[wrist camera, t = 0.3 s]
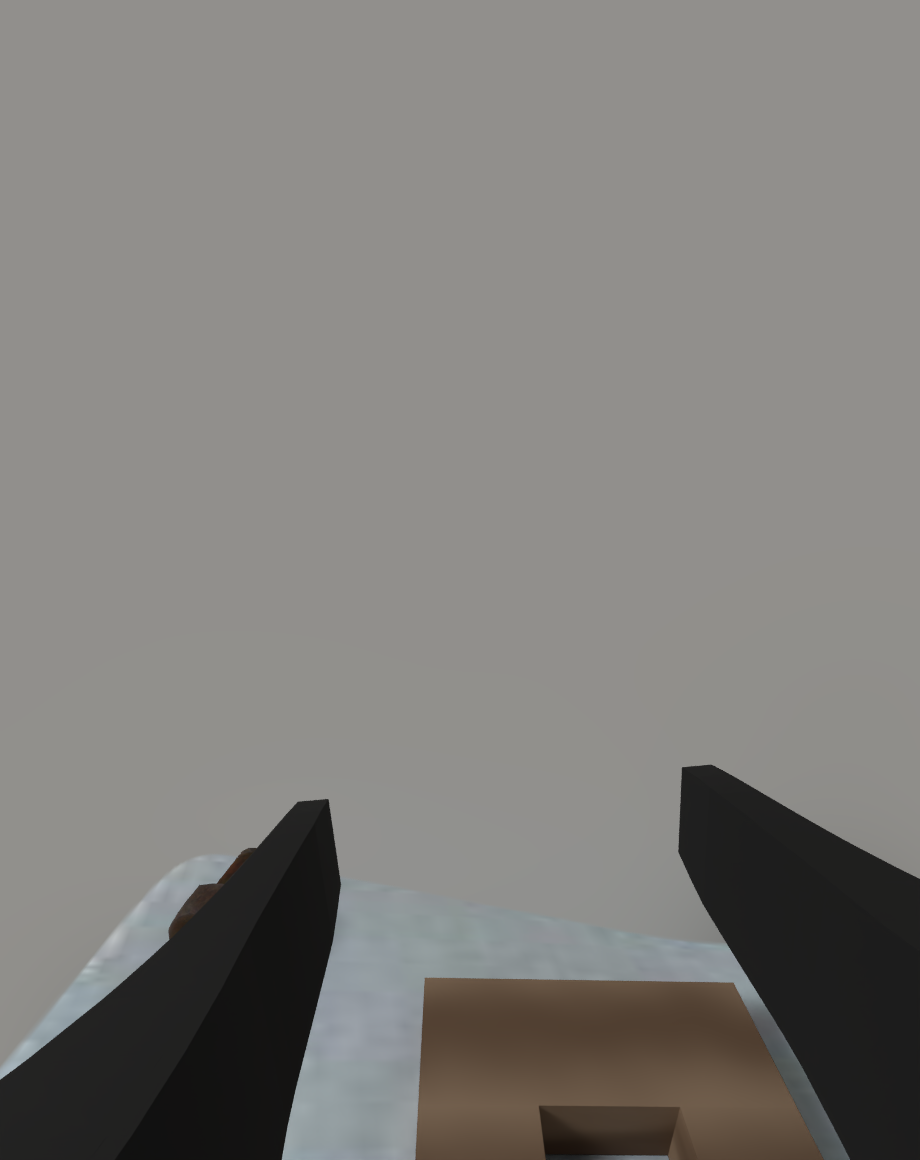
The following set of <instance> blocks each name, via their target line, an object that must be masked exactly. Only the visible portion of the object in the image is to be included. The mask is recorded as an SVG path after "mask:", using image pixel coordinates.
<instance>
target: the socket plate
mask: <svg viewBox="0 0 920 1160" xmlns="http://www.w3.org/2000/svg"><path fill="white" fill-rule="evenodd" d="M545 1154H568V1155H668V1157H669V1160H824V1159H823V1157H822V1155H821V1153H820V1151H819V1149H818V1148H817V1146H816V1144H815V1142H814V1140H813V1138H812V1136H811V1134H810V1132H809V1130H808V1128H807V1126H806V1124H805V1122H804V1120H803V1118H802V1116H801V1114H800V1112H799V1110H798V1108H797V1106H796V1104H795V1102H794V1101H793V1099H792V1097H791V1095H790V1093H789V1091H788V1089H787V1087H786V1085H785V1083H784V1081H783V1079H782V1077H781V1075H780V1073H779V1071H778V1069H777V1067H776V1065H775V1063H774V1061H773V1059H772V1057H771V1055H770V1054H769V1052H768V1050H767V1048H766V1046H765V1044H764V1042H763V1040H762V1038H761V1036H760V1034H759V1032H758V1030H757V1028H756V1026H755V1024H754V1022H753V1020H752V1018H751V1016H750V1014H749V1012H748V1010H747V1008H746V1007H745V1005H744V1003H743V1001H742V999H741V997H740V995H739V993H738V991H737V989H736V987H735V985H734V983H718V982H656V981H594V980H532V979H470V978H425V985H424V1004H423V1024H422V1043H421V1063H420V1082H419V1102H418V1121H417V1141H416V1160H546V1159H545Z"/></svg>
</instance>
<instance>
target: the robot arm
mask: <svg viewBox="0 0 920 1160" xmlns="http://www.w3.org/2000/svg"><path fill="white" fill-rule="evenodd" d="M678 852H679V854H680V857H681V859H682V861H683V863H684V865H685V868H686V870H687V872H688V874H689V876H690V878H691V881H692V883H693V885H694V887H695V889H696V891H697V893H698V895H699V897H700V899H701V901H702V903H703V905H704V907H705V908H706V910H707V912H708V913H709V915H710V917H711V918H712V920H713V921H714V923H715V925H716V926H717V928H718V930H719V932H720V933H721V935H722V936H723V938H724V940H725V941H726V943H727V945H728V946H729V948H730V949H731V951H732V953H733V954H734V956H735V958H736V959H737V961H738V962H739V964H740V966H741V967H742V969H743V970H744V972H745V974H746V975H747V977H748V978H749V980H750V982H751V983H752V985H753V986H754V988H755V990H756V991H757V993H758V994H759V996H760V998H761V999H762V1001H763V1003H764V1004H765V1006H766V1007H767V1009H768V1011H769V1012H770V1014H771V1015H772V1017H773V1019H774V1020H775V1022H776V1023H777V1025H778V1027H779V1028H780V1030H781V1031H782V1033H783V1035H784V1036H785V1038H786V1040H787V1042H788V1043H789V1045H790V1047H791V1049H792V1050H793V1052H794V1054H795V1055H796V1057H797V1059H798V1061H799V1062H800V1064H801V1066H802V1068H803V1069H804V1071H805V1073H806V1075H807V1077H808V1079H809V1081H810V1083H811V1085H812V1087H813V1088H814V1090H815V1092H816V1094H817V1096H818V1098H819V1100H820V1102H821V1104H822V1106H823V1108H824V1110H825V1111H826V1113H827V1115H828V1117H829V1119H830V1121H831V1123H832V1125H833V1127H834V1129H835V1131H836V1132H837V1134H838V1136H839V1138H840V1140H841V1142H842V1144H843V1146H844V1148H845V1150H846V1152H847V1154H848V1156H849V1158H850V1160H920V879H919V878H917V877H915V876H913V875H910V874H909V873H906V872H904V871H902V870H900V869H898V868H896V867H894V866H892V865H891V864H888V863H887V862H885V861H883V860H881V859H879V858H877V857H875V856H873V855H871V854H870V853H868V852H866V851H864V850H862V849H860V848H858V847H856V846H854V845H852V844H850V843H849V842H847V841H845V840H843V839H841V838H840V837H838V836H836V835H834V834H832V833H830V832H829V831H827V830H825V829H823V828H821V827H820V826H818V825H816V824H814V823H813V822H811V821H809V820H807V819H806V818H804V817H802V816H800V815H798V814H797V813H795V812H794V811H792V810H790V809H788V808H787V807H785V806H783V805H782V804H780V803H778V802H776V801H775V800H773V799H771V798H770V797H768V796H766V795H764V794H763V793H761V792H759V791H758V790H756V789H754V788H752V787H751V786H749V785H747V784H746V783H744V782H742V781H740V780H739V779H737V778H735V777H734V776H732V775H730V774H728V773H726V772H725V771H723V770H721V769H719V768H717V767H715V766H713V765H703V766H691V767H682V781H681V804H680V828H679V850H678ZM340 887H341V882H340V875H339V868H338V862H337V855H336V848H335V841H334V834H333V827H332V821H331V814H330V808H329V800H328V799H325V800H314V801H302V802H297V804H296V805H295V806H294V807H293V808H292V809H291V810H290V811H289V812H288V813H287V814H286V815H285V817H284V818H283V819H282V820H281V821H280V822H279V823H278V825H277V826H276V827H275V828H274V829H273V830H272V831H271V833H270V834H269V835H268V836H267V837H266V838H265V840H264V841H263V842H262V843H261V844H260V845H259V846H258V848H257V849H256V850H255V851H254V852H253V853H252V854H251V855H250V857H249V858H248V859H247V860H246V861H245V862H244V863H243V864H242V865H241V866H240V868H239V869H238V870H237V871H236V872H235V873H234V874H233V875H232V876H231V877H230V879H229V880H228V881H227V882H226V883H225V884H224V885H223V886H222V887H221V888H220V889H219V890H218V892H217V893H216V894H215V895H214V896H213V897H212V898H211V899H210V900H209V901H208V902H207V903H206V904H205V905H204V906H203V907H202V908H201V909H200V910H199V911H198V912H197V913H196V914H195V915H194V916H193V917H192V918H191V919H190V920H189V921H188V922H187V923H186V924H185V925H184V926H183V927H182V928H181V929H180V930H179V931H178V932H177V933H176V934H175V935H174V936H173V937H172V938H171V939H170V940H169V941H168V942H167V943H166V944H164V945H163V946H162V947H161V948H160V949H159V950H158V951H157V952H156V953H155V954H154V955H153V956H151V957H150V958H149V959H148V960H147V961H146V962H145V963H144V964H143V965H141V966H140V967H139V968H138V969H137V970H136V971H135V972H133V973H132V974H131V975H130V976H129V977H128V978H127V979H126V980H124V981H123V982H122V983H121V984H120V985H119V986H118V987H117V988H115V989H114V990H113V991H112V992H111V993H109V994H108V995H107V996H106V997H105V998H104V999H102V1000H101V1001H100V1002H99V1003H97V1004H96V1005H95V1006H94V1007H92V1008H91V1009H90V1010H89V1011H87V1012H86V1013H85V1014H84V1015H82V1016H81V1017H80V1018H79V1019H77V1020H76V1021H75V1022H74V1023H72V1024H71V1025H70V1026H69V1027H67V1028H66V1029H65V1030H64V1031H62V1032H61V1033H60V1034H59V1035H58V1036H56V1037H55V1038H54V1039H53V1040H51V1041H50V1042H49V1043H48V1044H46V1045H45V1046H44V1047H43V1048H41V1049H40V1050H39V1051H38V1052H36V1053H35V1054H34V1055H33V1056H31V1057H30V1058H29V1059H27V1060H26V1061H25V1062H23V1063H22V1064H21V1065H19V1066H18V1067H17V1068H16V1069H14V1070H13V1071H11V1072H10V1073H9V1074H7V1075H6V1076H5V1077H3V1078H2V1079H1V1080H0V1160H282V1154H283V1149H284V1143H285V1137H286V1132H287V1126H288V1122H289V1117H290V1112H291V1108H292V1103H293V1099H294V1094H295V1090H296V1086H297V1082H298V1078H299V1074H300V1070H301V1066H302V1062H303V1058H304V1054H305V1050H306V1046H307V1042H308V1038H309V1034H310V1030H311V1026H312V1022H313V1019H314V1015H315V1011H316V1007H317V1003H318V999H319V995H320V991H321V987H322V983H323V979H324V975H325V971H326V967H327V963H328V959H329V955H330V951H331V946H332V942H333V936H334V930H335V923H336V917H337V909H338V902H339V894H340Z"/></svg>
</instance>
